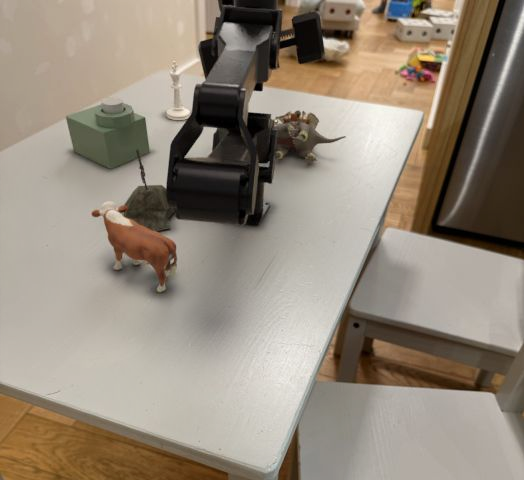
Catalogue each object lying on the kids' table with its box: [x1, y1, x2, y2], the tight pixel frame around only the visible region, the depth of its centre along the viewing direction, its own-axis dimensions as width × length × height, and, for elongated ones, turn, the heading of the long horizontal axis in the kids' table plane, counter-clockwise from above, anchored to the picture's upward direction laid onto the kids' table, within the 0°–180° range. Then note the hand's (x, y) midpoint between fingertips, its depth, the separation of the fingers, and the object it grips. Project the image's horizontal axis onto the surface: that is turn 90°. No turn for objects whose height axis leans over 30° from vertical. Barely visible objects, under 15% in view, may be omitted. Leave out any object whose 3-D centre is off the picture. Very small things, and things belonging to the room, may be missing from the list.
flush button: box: [101, 96, 124, 114], centre depth 82 cm, size 3×3×2 cm
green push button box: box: [65, 102, 150, 170], centre depth 86 cm, size 11×9×8 cm
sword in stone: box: [123, 148, 177, 232], centre depth 71 cm, size 10×8×12 cm
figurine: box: [272, 110, 347, 164], centre depth 92 cm, size 20×6×17 cm
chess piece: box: [166, 60, 191, 121], centre depth 99 cm, size 5×5×10 cm
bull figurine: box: [91, 201, 178, 293], centre depth 62 cm, size 4×13×8 cm, turn 51°
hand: (266, 49), depth 83 cm, fingers open, 9 cm apart
